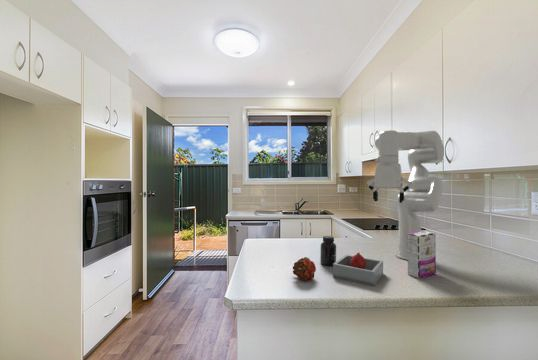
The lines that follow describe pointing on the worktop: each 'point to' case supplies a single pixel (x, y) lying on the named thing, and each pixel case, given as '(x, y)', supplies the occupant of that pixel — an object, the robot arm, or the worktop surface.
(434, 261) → the candy bar box
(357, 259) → the pomegranate
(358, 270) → the bin
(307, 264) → the dragon fruit
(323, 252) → the supplement bottle
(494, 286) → the worktop surface
